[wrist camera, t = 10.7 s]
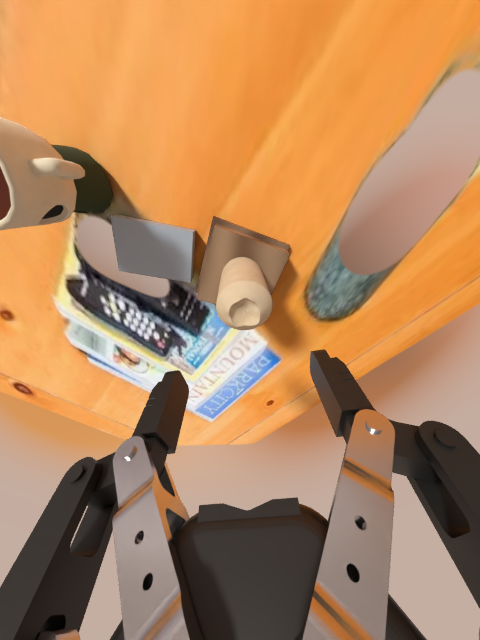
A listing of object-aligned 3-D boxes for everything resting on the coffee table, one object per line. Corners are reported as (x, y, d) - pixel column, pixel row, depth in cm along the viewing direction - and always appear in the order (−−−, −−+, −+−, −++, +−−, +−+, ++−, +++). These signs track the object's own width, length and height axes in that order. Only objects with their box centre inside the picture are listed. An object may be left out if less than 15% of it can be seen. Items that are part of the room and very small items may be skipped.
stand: (288, 244, 27) (296, 251, 24) (259, 308, 33) (262, 321, 29) (213, 216, 25) (210, 218, 21) (196, 290, 31) (191, 301, 27)
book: (195, 230, 26) (193, 232, 24) (192, 278, 29) (190, 282, 28) (118, 214, 24) (110, 215, 23) (125, 266, 28) (118, 270, 26)
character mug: (61, 220, 25) (-76, 237, 14) (22, 149, 21) (-210, 94, 10) (142, 213, 24) (67, 224, 14) (118, 139, 21) (-12, 72, 10)
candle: (270, 274, 25) (288, 311, 17) (243, 302, 27) (247, 347, 19) (239, 246, 23) (242, 273, 15) (213, 279, 25) (202, 318, 17)
